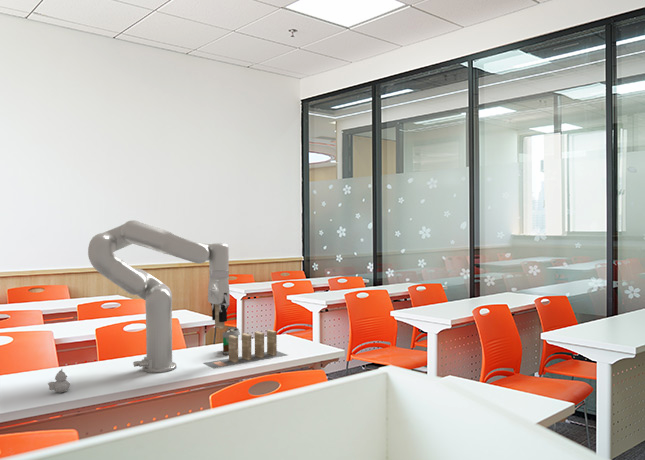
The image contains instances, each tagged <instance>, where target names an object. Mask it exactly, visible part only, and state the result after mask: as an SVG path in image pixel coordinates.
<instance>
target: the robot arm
mask: <svg viewBox="0 0 645 460" xmlns="http://www.w3.org/2000/svg"><path fill="white" fill-rule="evenodd" d="M90 239H91V240H90V241H89V244H88V248H87V255H88V259H89V263H90V264H91V266H92V267H93V269H95V270H96V272H98V273H99V274H100V275H101V276H103V277H105V278H106V279H108V280H109V281H110V282H112V283H113V284H114V285H116V286H117V287H119V288H121V289H122V290H123V291H125V292H126V293H127V294H130V295H133V296H138V297H139V298H141V299H143V301H145V302H144V303H145V331H146V332H145V333H146V334H145V336H146V338H145V339H146V342H145V343H146V345H145V347H146V356H144V357H143V359H141V360H137V361H133V363H132V364H133V367H139V368H142V371H143V372H146V373H156V374H157V373H165V372H170V371H172V370H175V369H176V368H177V363H176V362H174V361H173V313H172V312H173V293H172V290H171V289H170V287H169V286H168V285H166V283H164V282H162V281H160V279H157V278H156V277H155V276H153V275H151V273H149V272H147V271H146V270H144V269H142V268H136V267H133V266H131V265H130V264H128V263H126V262H125V261H124V260H123V259H120V257H117V256H116V254H114V253H115V252H117V251H119V250H122V249H124V248H127V247H129V246H130V245H132V244H133V245H135V246H136V245H137V246H139V247H142V248H145V249H149V250H153V251H155V252H158V253H162V254H164V255H169V256H173V257H175V258H178V259H182V260H185V261H188V262H191V263H195V264H204V263H205V262H207V261H208V262H209V264H208V268H209V269H208V271H209V272H208V273H209V277H208V287H207V302H208V303H209V304H210V306H211V310H212V311H211V313H212V314H211V316H212V317H211V320H212V321H215V304H217V305H219V308H220V312H219V322H225V323H226V322H227V321H228V308H229V306H230V304H231V303H230V298H231V297H230V285H229V283H230V282H229V279H230V277H229V274H230V273H229V270H230V269H229V267H230V266H229V265H230V264H229V263H230V262H229V258H230V257H229V256H230V255H229V254H230V253H229V252H230V251H229V250H230V249H229V245H228V244H227V243H221V242H219V243H217V242H216V243H215V242H214V243H201V242H196V241H193V240H189V239H187V238H184V237H181V236H178V235H177V234H174V233H173V232H170V231H168V230H165V229H161V228H158V227H155V226H153V225H149V224H146V223H144V222H140V221H138V220H133V219H132V220H128V221H125V223H123V224H121V225H119V226H117V227H114V228H112V229H109V230H107V231H104V232H100V233H98V234H95V235H94V236H93V237H92V238H90ZM221 303H223V304H221ZM222 305H224V306H223V307H222Z"/></svg>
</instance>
